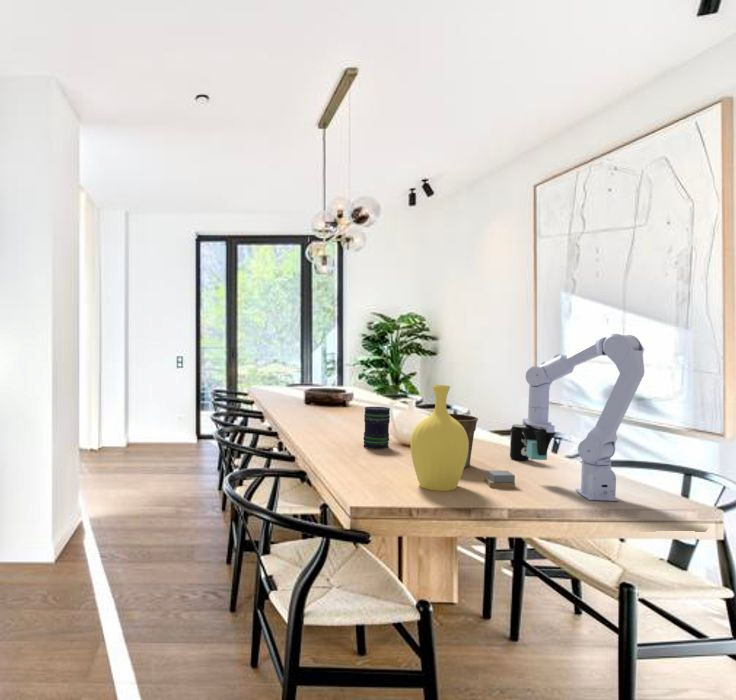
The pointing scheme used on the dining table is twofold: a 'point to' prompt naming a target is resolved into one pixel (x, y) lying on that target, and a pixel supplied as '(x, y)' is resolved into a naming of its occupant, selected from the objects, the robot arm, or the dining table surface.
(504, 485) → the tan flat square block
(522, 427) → the robot arm
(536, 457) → the teal block
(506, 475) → the grey slab
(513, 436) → the beverage can
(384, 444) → the storage jar
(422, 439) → the vase
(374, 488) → the dining table surface
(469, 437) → the plant pot
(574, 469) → the dining table surface
